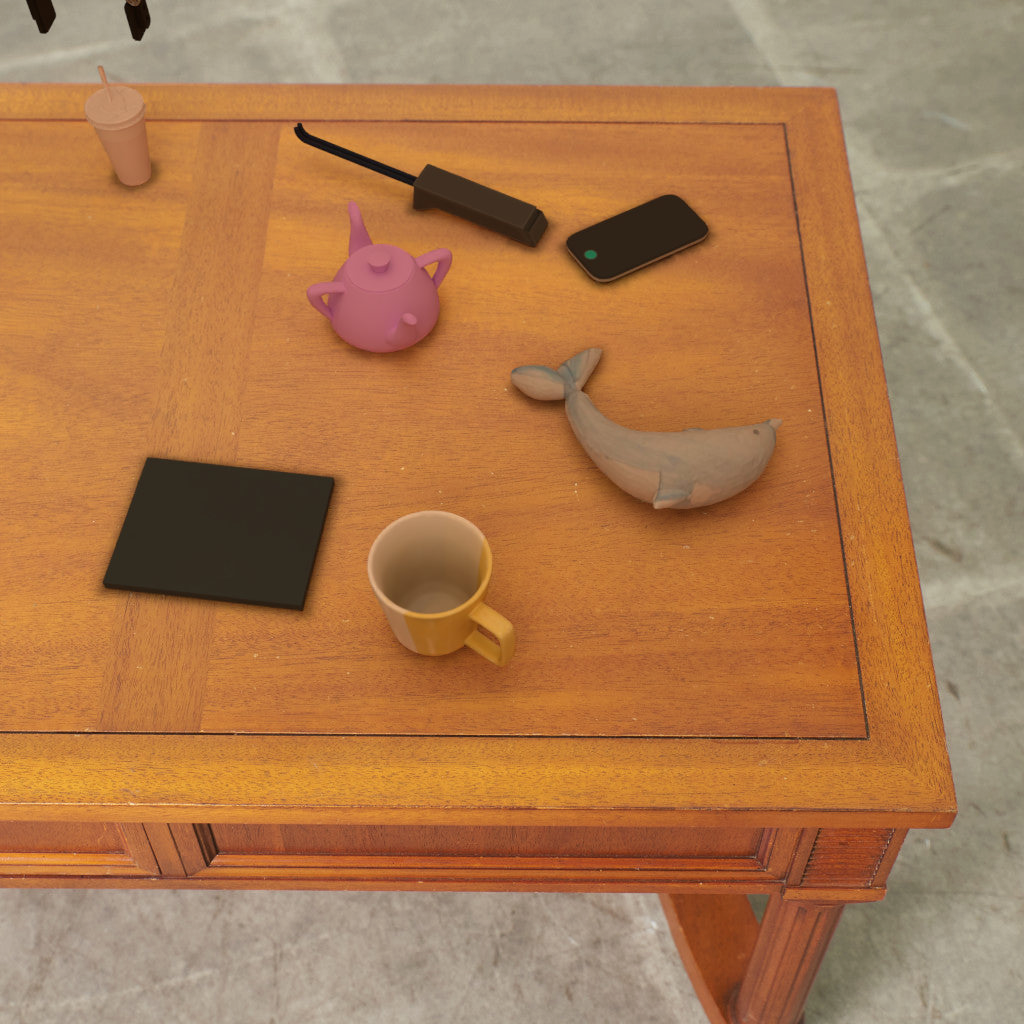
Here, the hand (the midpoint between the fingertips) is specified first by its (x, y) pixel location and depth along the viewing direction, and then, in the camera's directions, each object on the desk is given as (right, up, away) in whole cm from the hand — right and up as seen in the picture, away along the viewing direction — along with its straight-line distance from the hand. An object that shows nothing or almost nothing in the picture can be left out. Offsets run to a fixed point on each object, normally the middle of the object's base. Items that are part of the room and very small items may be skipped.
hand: (94, 29), depth 129 cm
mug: (+36, -60, -17) cm, 72 cm away
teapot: (+29, -29, +4) cm, 41 cm away
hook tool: (+32, -14, +14) cm, 38 cm away
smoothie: (-1, -11, +16) cm, 19 cm away
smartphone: (+56, -19, +10) cm, 60 cm away
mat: (+16, -51, -12) cm, 54 cm away
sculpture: (+55, -40, -4) cm, 69 cm away
